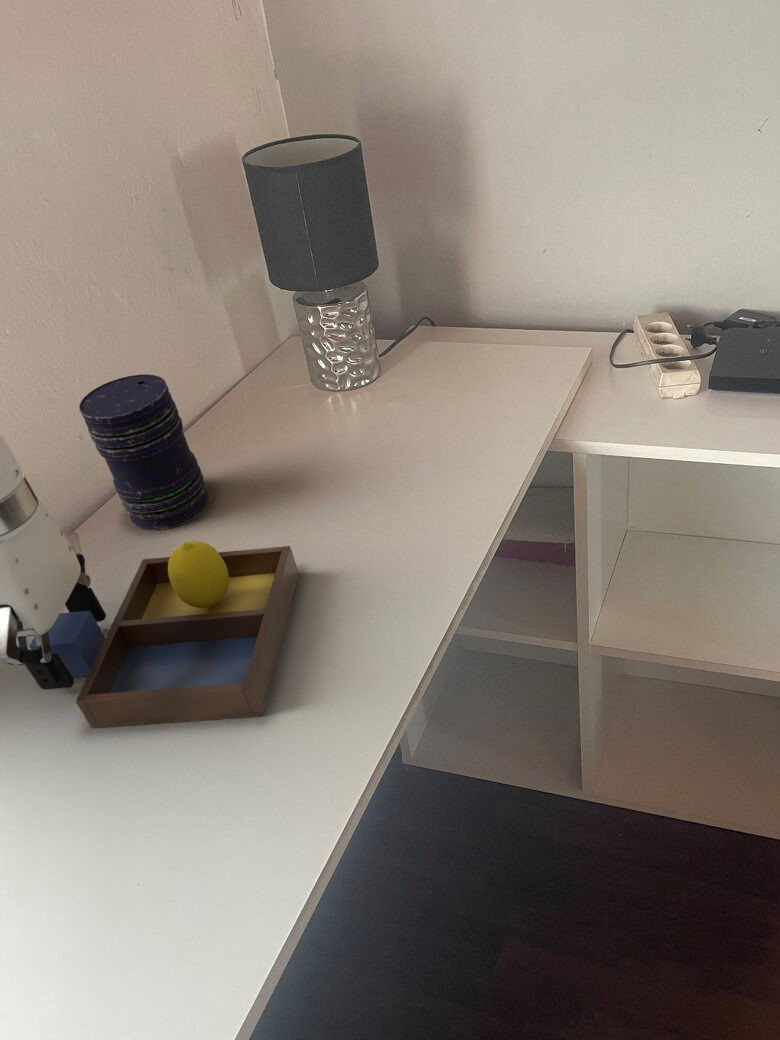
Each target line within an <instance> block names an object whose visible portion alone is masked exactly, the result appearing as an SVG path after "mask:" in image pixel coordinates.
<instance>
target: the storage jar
mask: <svg viewBox="0 0 780 1040" xmlns="http://www.w3.org/2000/svg"><path fill="white" fill-rule="evenodd" d="M78 405H79V406H78V408H79V409H78V410H79V412H80V415H81V417H82V418H83V419H84V423H85V425H86V427H87V430H88V434H89V436H90V438H91V440H92V442H93V443H94V444H95V449H96V451H97V452H98V453H99V455H100V457H102V458H103V459H104V460H105V462H106V464H107V467H108V469H109V471H110V473H111V475H112V478H113V480H112V481H113V482H112V483H113V486H114V488H115V489H114V490H115V491H116V493H117V495H118V497H119V500H120V502H121V504H122V506H123V507H124V508H125V510H126V512H127V513H128V516H129V519H130V521H131V523H132V524H133V525H134V526H135V528H138V529H141V530H144V531H152V532H153V531H155V532H156V531H165V530H168V529H169V530H170V529H173V528H176V527H179V526H182V525H184V524H186V523H189V522H190V521H192V520H194V518H196V517H197V516H199V515H200V514H201V513H203V511H204V510H205V509H206V508H207V506H208V504H209V503H210V493H209V490H208V488H207V487H206V483H205V480H204V475H203V472H202V469H201V466H200V465H199V464H198V459H197V458H196V455H195V454H194V452H193V451H191V449H190V446H189V443H188V441H187V439H186V436H185V433H184V431H183V430H184V425H183V420H182V417H181V416H180V414H179V410H178V407H177V405H176V401H174V399H173V397H172V394H171V392H170V390H169V386H168V384H167V381H166V379H164V378H163V377H161V376H159V375H155V374H148V373H147V374H144V373H143V374H141V373H140V374H134V375H128V376H127V375H126V376H124V377H120V378H116V379H113V380H111V381H107V382H106V383H103V384H101V385H99V386H98V387H95V388H94V389H92V390H91V391H89V392H88V393H87V394H86V395H85V396H84V397H83V398H82V399H81V401H80V403H79V404H78Z"/></svg>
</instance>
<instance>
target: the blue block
mask: <svg viewBox="0 0 780 1040" xmlns="http://www.w3.org/2000/svg"><path fill="white" fill-rule="evenodd" d="M48 633H49V641H50V648H51V653H56V654H58V655H59V657H60V658H61V660H62V662H63V663H64V665H65V666H66V668H67V670H68V671H69V673H70V674H71V676H72V678H83V677H88V674H89V672H90V670H91V668H92V666H93V664H94V662H95V660H96V657H97V655H98V653H99V651H100V649H101V647H102V645H103V643H104V640H105V638H106V636H105V634H104V633H103V631H102V629H101V627H100V625H99V624H98V622H96V620H95V618H94V617H93V615H92V613H91V611H81V612H69V611H68V612H60V614H59V616H58V618H57V619H56V621H55V623H54V624H53V626H52V627H51V628H50V629H49V630H48ZM29 650H38V649H37V642H36V635H34V636H33V638H32V641H31V642H30V644H29Z"/></svg>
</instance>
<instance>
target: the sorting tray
mask: <svg viewBox="0 0 780 1040" xmlns="http://www.w3.org/2000/svg"><path fill="white" fill-rule="evenodd" d="M217 552H218V551H217ZM218 553H219V555H220V556H221V558H222V559H223V561H224V562H225V564H226V567H227V570H228V575H229V586H228V590H227V592H226V594H225V596H224V597H223V599H222V600H221V601H220V602H218V603H217V604H215V605H214V606H213V607H207V608H196V607H192V606H190V605H188V604H186V603H184V602H183V601H182V600H181V599H180V598H179V597H178V596H177V595H176V593H175V592H174V590H173V588H172V585H171V582H170V579H169V575H168V563H169V558H170V557H171V556H166V557H153V558H144V559H141V561H140V563H139V566H138V569H137V570H136V573H135V575H134V577H133V579H132V581H131V583H130V586H129V588H128V589H127V591H126V594H125V596H124V598H123V600H122V602H121V604H120V606H119V608H118V611H117V613H116V615H115V617H114V619H113V621H112V624H111V625H110V627H109V629H108V632H107V634H106V636H105V640H104V643H103V645H102V647H101V649H100V651H99V653H98V655H97V657H96V660H95V662H94V664H93V666H92V668H91V670H90V672H89V674H88V676H86V678H85V681H84V683H83V685H82V686H81V690H80V692H79V693H78V696H77V698H76V700H75V704H76V706H77V707H78V708H79V710H80V711H81V713H82V715H83V716H84V718H85V719H86V722H88V724H89V726H90V728H92V729H102V728H113V727H114V728H115V727H128V726H129V727H130V726H142V725H156V724H157V725H158V724H171V723H184V722H185V723H186V722H187V723H188V722H199V721H215V720H226V719H227V720H228V719H242V718H255V717H257V718H258V717H263V716H264V712H265V709H266V704H267V700H268V697H269V692H270V689H271V685H272V681H273V677H274V671H275V668H276V665H277V661H278V656H279V653H280V649H281V645H282V640H283V638H284V632H285V628H286V625H287V620H288V617H289V612H290V608H291V605H292V600H293V597H294V593H295V589H296V584H297V581H298V576H299V573H300V571H299V569H298V566H297V563H296V559H295V557H294V554H293V551H292V547H291V546H290V545H284V546H273V547H262V548H252V549H240V550H233V551H232V550H231V551H229V550H228V551H220V552H218Z"/></svg>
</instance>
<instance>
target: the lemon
mask: <svg viewBox="0 0 780 1040" xmlns="http://www.w3.org/2000/svg"><path fill="white" fill-rule="evenodd" d="M169 557H170V558H169V563H168V575H169V579H170V582H171V585H172V588H173V590H174V592H175V593H176V595H177V596H178V597H179V598H180V599H181V600H182V601H183V602H184V603H186V604H188V605H190V606H192V607H196V608H207V607H213V606H214V605H215V604H217V603H218V602H220V601H221V600H222V599H223V597H224V596H225V594H226V592H227V590H228V586H229V575H228V570H227V567H226V564H225V562H224V561H223V559H222V558H221V556H220V555H219V553H218V550H217V549H215V547H213V546H211V545H210V544H208V543H206V542H203V541H197V540H193V541H185V542H183V543H181V544H180V545H179V546H178V547H176V548H175V549H174V550H173V551H172V553H171V555H170V556H169Z"/></svg>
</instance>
